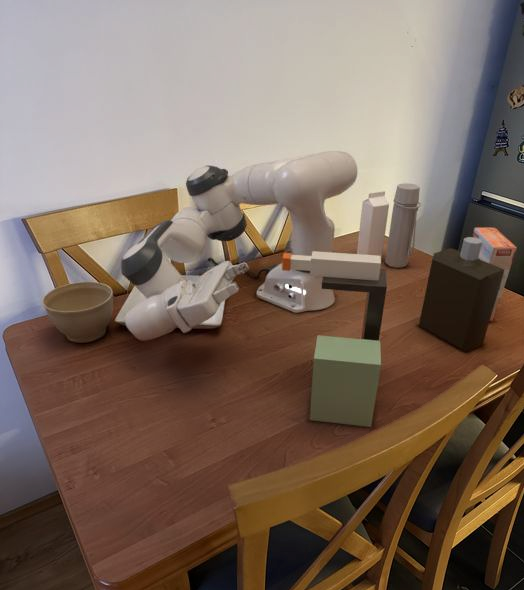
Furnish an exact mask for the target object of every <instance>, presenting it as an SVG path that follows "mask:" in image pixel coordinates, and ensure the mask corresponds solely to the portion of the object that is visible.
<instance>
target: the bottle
mask: <svg viewBox="0 0 524 590" xmlns="http://www.w3.org/2000/svg"><path fill="white" fill-rule="evenodd" d="M481 246H482V240H481V239H478V238H474V237H472V236H468V237H464V238H463V242H462V246H461V250H457V249H454V248H453V247H449V248H447V249H446V248H445V249H444V250H441V251H436V252H434V253H433V255H432V258H431V259H432V260H431V264H430V268H429V274H428V278H427V283H426V289H425V292H424V293H425V294H424V298H423V303H422V307H421V313H420V317H419V322H418V326H419V327H420V328H422V329H424V330H426V331H428V332H429V333H431V334H433V335H434V336H436V337H438V338H440V339H441V340H443V341H444V342H447V343H448V344H450V345H452V346H454V347H456V348H457V349H459V350H461V351H462V352H465V353H468V352H470V351H472V350H474V349H476V348H479V347H480V346H483V345H484V341H485V338H486V335H487V331H488V328H489V325H490V322H491V321H490V318H491V315H492V311H493V308H494V305H495V301H496V298H497V294H498V291H499V288H500V284H501V281H502V278H503V274H504V269H502V268H500V267H497V266H495V265H492V264H490V263H487V262H485V261H482V260H480V259H479V258H478V257H479V253H480V250H481Z"/></svg>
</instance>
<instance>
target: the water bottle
mask: <svg viewBox="0 0 524 590" xmlns="http://www.w3.org/2000/svg"><path fill="white" fill-rule="evenodd" d="M420 190H421V189H420V185H418V184H415V183H407V182H403V183H399V184H397V186H396V189H395V193H394V198H393V206H392V213H391V220H390V226H389V233H388V239H387V240H388V241H387V247H386V253H385V260H384V261H385V264H386V265H387V266H388V267H391V268H393V269H394V268H395V269H401V268H404V267H406V266H407V265H408V263H409V257H410V256H412V255H413V253H414V250H415V242H416V230H417V229H416V227H417V217H418V210H419V208H420V207H421V205H422V204H421V203H420V202H419V201H420ZM411 245H412V246H411Z"/></svg>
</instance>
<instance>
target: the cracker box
mask: <svg viewBox="0 0 524 590" xmlns="http://www.w3.org/2000/svg"><path fill="white" fill-rule="evenodd" d="M471 237H474V238H478V239H481V240H482V246H481V250H480V253H479V257H478V258H479V259H480V260H482V261H485V262H487V263H490V264H492V265H495V266H497V267H500V268H502V269H504V274H503V278H502V281H501V284H500V288H499V291H498V294H497V298H496V301H495V305H494V308H493V311H492V315H491V318H490V321H489V322H494V321H495V318H496V315H497V312H498V308H499V305H500V302H501V299H502V295H503V293H504V289H505V286H506V283H507V279H508V276H509V273H510V270H511V267H512V265H513V261H514V257H515V254H516V251H517V246H515V244H514V243H512V242H511V240H509V239H508V238H507V237H506V236H505V235H503V233H501V231H499V230H498V228H496V227H480V226H479V227H474V228H473V231H472V236H471Z"/></svg>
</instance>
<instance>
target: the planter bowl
mask: <svg viewBox="0 0 524 590" xmlns="http://www.w3.org/2000/svg"><path fill="white" fill-rule="evenodd" d="M113 293H114V292H113V289H112V288H111V287H110V286H109V285H107V284H106V283H103V282H98V281H77V282H72V283H67V284H64V285H61V286H57V287H56V288H53V289H52V290H50V291H49V292H47V293H46V294H45V295H44V296H43V298H42V306H43V307H44V309H45V311H46V314H47V316H48V318H49V320H50V322H51V323H52V325H53V326H54V327H55V328H57V330H58V331H59V332H61V333H62V334H63V335H64V336H65V337H66V338H67V340H69V341H70V342H73V343H78V344H79V343H80V344H82V343H90V342H94V341H96V340H98V339H100V338H102V337H103V336H104V335H105V333H106V332H107V327H108V325H109V323H110V321H111V320H112V316H113V311H114V298H113V296H114V294H113Z"/></svg>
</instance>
